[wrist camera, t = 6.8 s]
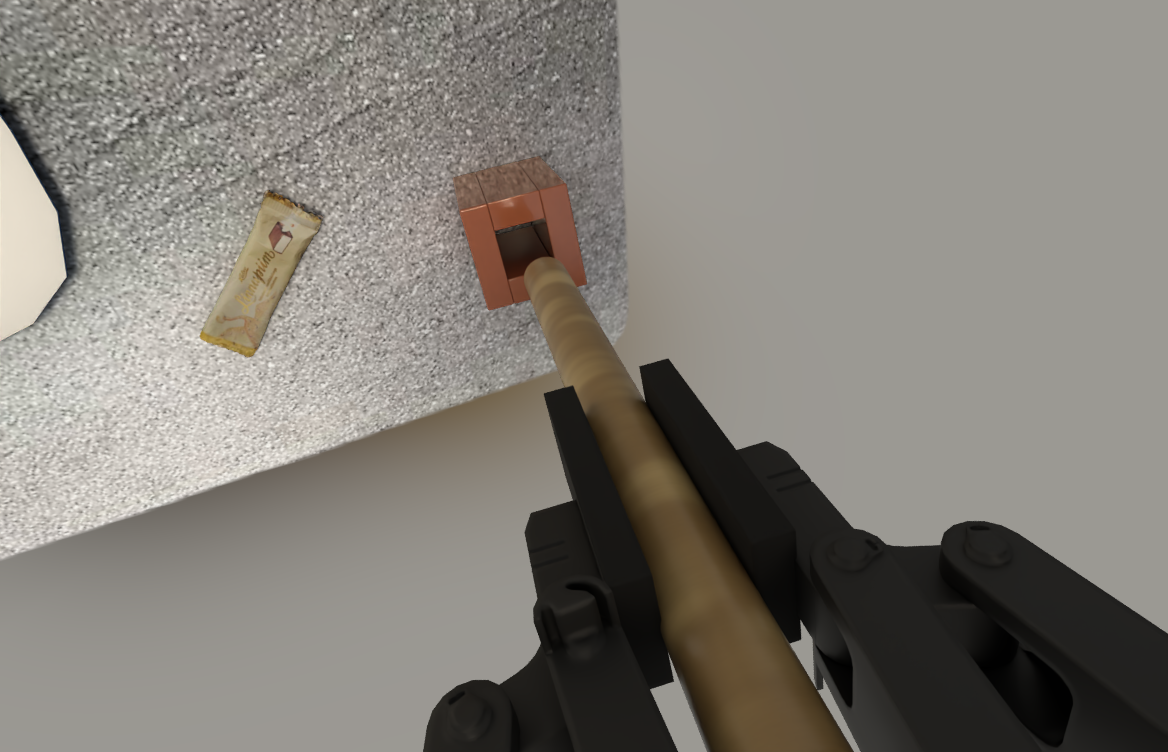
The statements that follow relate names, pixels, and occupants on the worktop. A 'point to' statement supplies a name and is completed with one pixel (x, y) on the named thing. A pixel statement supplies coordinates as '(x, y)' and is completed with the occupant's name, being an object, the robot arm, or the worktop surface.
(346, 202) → the worktop surface
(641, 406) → the stick
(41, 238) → the plate
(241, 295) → the snack bar
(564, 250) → the holder
